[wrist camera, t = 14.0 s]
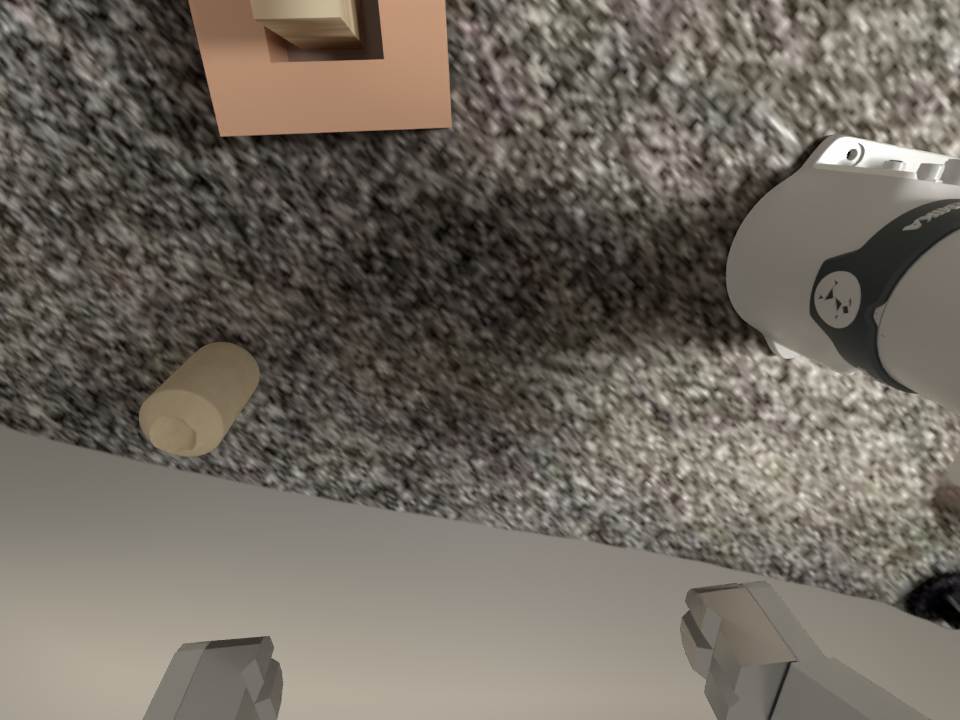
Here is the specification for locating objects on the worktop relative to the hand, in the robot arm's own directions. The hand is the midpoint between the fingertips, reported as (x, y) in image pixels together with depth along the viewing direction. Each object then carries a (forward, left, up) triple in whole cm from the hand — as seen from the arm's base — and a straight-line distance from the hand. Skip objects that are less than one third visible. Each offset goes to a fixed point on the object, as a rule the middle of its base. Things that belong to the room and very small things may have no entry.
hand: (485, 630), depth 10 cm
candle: (+19, +9, -33) cm, 39 cm away
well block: (+6, -16, -33) cm, 37 cm away
